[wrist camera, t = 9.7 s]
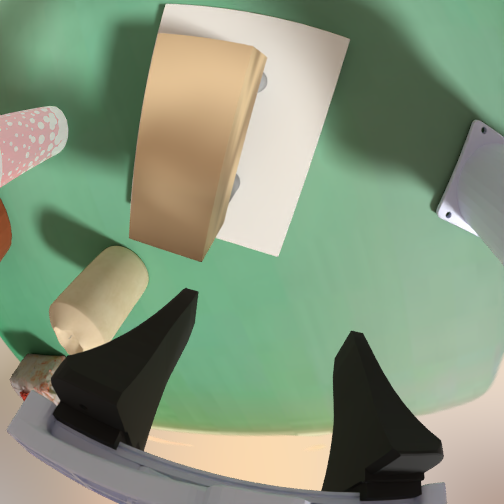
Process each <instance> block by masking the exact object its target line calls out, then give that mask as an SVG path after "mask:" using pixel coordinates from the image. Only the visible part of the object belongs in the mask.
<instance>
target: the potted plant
mask: <svg viewBox="0 0 504 504" xmlns="http://www.w3.org/2000/svg"><path fill="white" fill-rule="evenodd" d="M11 239H12V233H11V226H10V222H9V218H8V215H7V212H6V209H5V207H4V205H3V203H2V200H1V199H0V261H1V260H2V258H3V257H4V256H5V254H6V253H7V251H8V250H9V248H10V246H11Z"/></svg>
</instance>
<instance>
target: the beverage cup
mask: <svg viewBox="0 0 504 504" xmlns="http://www.w3.org/2000/svg"><path fill="white" fill-rule="evenodd" d="M67 139H68V125H67V119H66V118H65V116H64V114H63V112H62V111H61V110H60V109H59V108H57V107H54V106H46V107H40V108H34V109H28V110H23V111H18V112H13V113H8V114H4V115H0V187H2V186H3V185H5V184H6V183H8V182H10V181H11V180H13V179H14V178H16V177H18V176H19V175H21V174H22V173H24V172H26V171H27V170H29V169H31V168H33V167H34V166H36V165H38V164H40V163H41V162H43V161H45V160H47V159H49V158H50V157H52V156H54V155H56V154H58V153H59V152H60V151H61V150H62V149H63V148H64V147H65V144H66V142H67Z"/></svg>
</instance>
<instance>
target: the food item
mask: <svg viewBox="0 0 504 504" xmlns="http://www.w3.org/2000/svg"><path fill="white" fill-rule="evenodd" d="M65 358H66V357H65V356H49V355H38V354H27V355H26V356H25V357H24V359H23V360H22V361H21V363H20V364H19V366H18V368H17V369H16V370H15V372H14V373H13V374H12V376H11V379H10V381H11V385H12V387H13V388H14V390H15V391H16V393H17V394H18V395H19V396H20V397H21V398H22V399H23V400H24V401H25V399H26V398H27V396H28V395H29V393H30V392H31V390H34V391H36V392H37V393H39V394H41V395H42V396H44V397H46V398H47V399H49V400H50V401H52V402H53V403H54V404H56V406H57V405H58V404H59V402H60V399H59V398H58V396H57V394H56V392H55V390H54V389H53V387H52V384H51V377H52V375H53V374H54V372H55V371H56V369H57V368H58V366H59V365H60V364H61V362H62V361H63V360H64V359H65Z"/></svg>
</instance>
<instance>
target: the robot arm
mask: <svg viewBox="0 0 504 504" xmlns="http://www.w3.org/2000/svg"><path fill="white" fill-rule="evenodd" d="M482 127H484V132H483V133H482V131H481V129H482ZM447 212H450V213H449V215H448V216H446V213H447ZM436 213H437V215H438V216H439V217H440V218H441V219H443V220H446V221H448V222H450V223H452V224H454V225H456V226H458V227H460V228H462V229H464V230H466V231H468V232H470V233H472V234H474V235H476V236H478V237H480V238H481V239H482V240H483V242H484V243H485V244H486V245H487V246H488V247H489V249H490V250H491V251H492V252H493V253H494V255H495V256H496V257H497V258H498V259H499V261H500V262H501V263H502V264H503V266H504V137H503V136H502V135H500V134H499V133H498V132H496V131H495V130H493V129H492V128H490V127H489V126H488V125H486V124H485V123H483V122H482V121H479V120H474V121H473V122H472V124H471V127H470V130H469V133H468V136H467V138H466V141H465V144H464V146H463V149H462V152H461V154H460V157H459V159H458V162H457V164H456V167H455V169H454V171H453V174H452V176H451V178H450V181H449V183H448V185H447V188H446V190H445V192H444V194H443V196H442V199H441V201H440V203H439V205H438V207H437V210H436ZM197 299H198V291H194V290H191V289H187V288H185V289H183V290H182V291H181V292H180V293H179V294H178V295H177V296H176V297H175V298H173V299H172V300H171V301H170V302H169V303H168V304H167V305H165V306H164V307H163V308H162V309H160V310H159V311H158V312H157V313H156V314H154V315H153V316H151V317H150V318H149V319H147V320H146V321H145V322H143V323H142V324H140V325H139V326H137V327H136V328H134V329H132V330H131V331H129V332H127V333H125V334H124V335H122V336H120V337H118V338H116V339H114V340H112V341H110V342H107V343H105V344H103V345H100V346H98V347H95V348H92V349H90V350H87V351H83V352H80V353H76V354H73V355H69V356H67V357H66V358H65V359H64V360H63V361H62V362H61V364H60V365H59V366H58V368H57V369H56V371H55V372H54V374H53V375H52V377H51V384H52V387H53V389H54V390H55V392H56V394H57V396H58V398H59V399H60V402H59V404H58V405H57V406H56V404H54V403H53V402H52V401H50V400H49V399H47V398H46V397H44V396H42V395H41V394H39V393H37V392H36V391H34V390H31V392H30V393H29V395H28V396H27V398H26V399H25V401H24V402H23V404H22V405H21V407H20V409H19V410H18V412H17V413H16V415H15V417H14V418H13V420H12V421H11V423H10V425H9V426H8V428H7V432H8V433H9V434H10V435H11V436H12V437H13V438H14V439H15V440H16V441H17V442H18V443H19V444H20V445H21V446H22V447H24V448H25V449H26V450H27V451H28V452H29V453H31V454H32V455H34V456H35V457H36V458H38V459H40V460H41V461H43V462H44V463H46V464H47V465H49V466H51V467H52V468H54V469H55V470H57V471H59V472H60V473H62V474H63V475H65V476H67V477H69V478H70V479H72V480H74V481H76V482H77V483H79V484H81V485H83V486H85V487H87V488H88V489H90V490H92V491H94V492H96V493H98V494H100V495H102V496H104V497H106V498H108V499H110V500H112V501H114V502H117V503H119V504H447V501H446V490H445V489H446V488H445V483H444V482H442V483H433V484H427V485H423V486H421V481H422V480H424V473H425V472H426V471H428V470H429V469H431V468H433V467H434V466H436V465H437V464H438V463H440V462H441V461H442V459H443V457H444V455H443V448H442V443H441V440H440V439H439V438H437V437H436V436H435V435H434V434H433V433H431V432H430V431H429V430H428V429H427V428H426V427H425V426H424V425H423V424H422V423H421V422H420V421H419V420H418V419H417V418H416V417H415V416H414V415H413V414H412V413H411V411H410V410H409V409H408V408H407V407H406V405H405V404H404V403H403V402H402V400H401V399H400V397H399V396H398V395H397V393H396V392H395V390H394V389H393V387H392V386H391V384H390V383H389V381H388V379H387V378H386V376H385V374H384V373H383V371H382V369H381V367H380V365H379V363H378V362H377V360H376V358H375V356H374V354H373V352H372V350H371V348H370V346H369V344H368V342H367V340H366V338H365V336H364V334H363V333H360V332H355V331H351V332H350V334H349V335H348V337H347V339H346V340H345V342H344V344H343V345H342V347H341V349H340V350H339V352H338V354H337V355H336V357H335V361H334V371H333V397H334V426H333V435H332V443H331V449H330V455H329V460H328V465H327V470H326V475H325V479H324V483H323V487H322V490H321V491H314V490H302V489H294V488H286V487H279V486H271V485H266V484H260V483H254V482H249V481H243V480H239V479H235V478H230V477H225V476H221V475H217V474H213V473H210V472H206V471H202V470H198V469H195V468H191V467H188V466H185V465H181V464H178V463H175V462H172V461H169V460H166V459H163V458H160V457H158V456H155V455H152V454H149V453H147V452H144V448H145V445H146V441H147V438H148V435H149V431H150V429H151V426H152V423H153V420H154V417H155V414H156V411H157V408H158V405H159V402H160V400H161V397H162V394H163V392H164V389H165V386H166V384H167V382H168V379H169V377H170V375H171V373H172V371H173V369H174V367H175V366H176V364H177V362H178V360H179V358H180V356H181V354H182V352H183V350H184V348H185V346H186V344H187V342H188V340H189V337H190V335H191V332H192V329H193V326H194V324H195V316H196V308H197Z"/></svg>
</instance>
